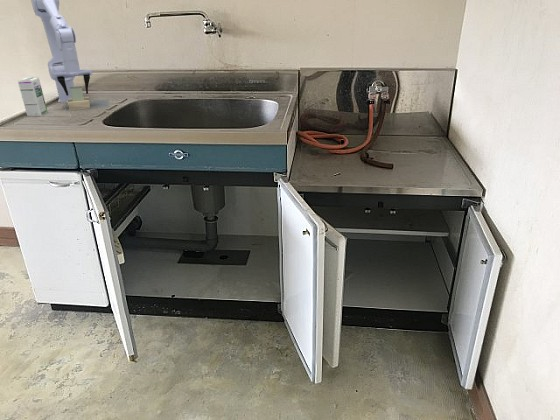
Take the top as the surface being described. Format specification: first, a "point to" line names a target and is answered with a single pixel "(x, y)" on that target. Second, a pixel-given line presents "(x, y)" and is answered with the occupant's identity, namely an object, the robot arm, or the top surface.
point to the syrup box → (32, 96)
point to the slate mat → (93, 105)
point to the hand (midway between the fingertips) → (77, 94)
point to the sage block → (77, 93)
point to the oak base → (79, 104)
